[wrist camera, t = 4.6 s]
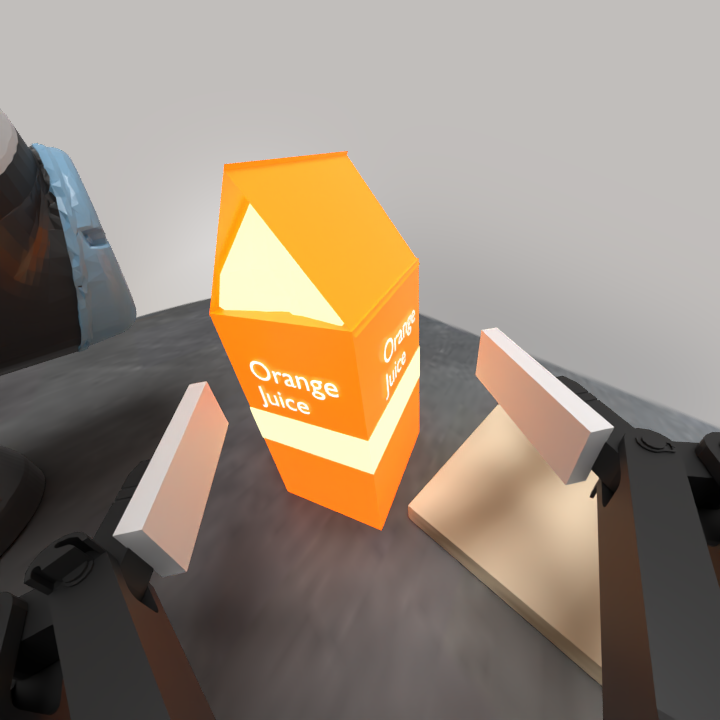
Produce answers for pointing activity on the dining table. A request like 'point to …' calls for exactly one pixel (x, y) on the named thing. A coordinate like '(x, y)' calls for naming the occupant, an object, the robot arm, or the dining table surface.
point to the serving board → (521, 534)
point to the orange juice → (321, 327)
